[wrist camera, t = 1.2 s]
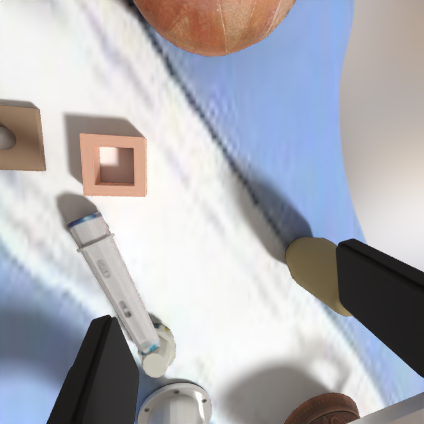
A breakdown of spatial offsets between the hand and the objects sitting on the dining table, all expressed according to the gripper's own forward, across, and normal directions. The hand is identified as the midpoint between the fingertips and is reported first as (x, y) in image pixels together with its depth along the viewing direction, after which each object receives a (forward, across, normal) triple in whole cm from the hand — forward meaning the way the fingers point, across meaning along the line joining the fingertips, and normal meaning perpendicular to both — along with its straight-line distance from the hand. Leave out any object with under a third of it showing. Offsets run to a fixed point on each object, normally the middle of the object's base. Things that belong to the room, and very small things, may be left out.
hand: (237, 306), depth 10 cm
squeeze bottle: (+25, -16, +15) cm, 33 cm away
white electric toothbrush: (+25, +12, +12) cm, 30 cm away
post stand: (+25, +18, -12) cm, 33 cm away
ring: (+25, +7, -6) cm, 27 cm away
